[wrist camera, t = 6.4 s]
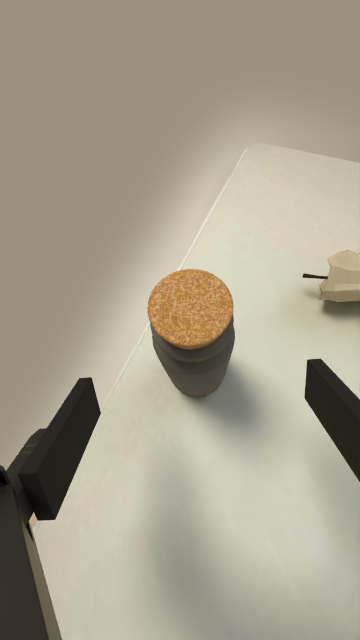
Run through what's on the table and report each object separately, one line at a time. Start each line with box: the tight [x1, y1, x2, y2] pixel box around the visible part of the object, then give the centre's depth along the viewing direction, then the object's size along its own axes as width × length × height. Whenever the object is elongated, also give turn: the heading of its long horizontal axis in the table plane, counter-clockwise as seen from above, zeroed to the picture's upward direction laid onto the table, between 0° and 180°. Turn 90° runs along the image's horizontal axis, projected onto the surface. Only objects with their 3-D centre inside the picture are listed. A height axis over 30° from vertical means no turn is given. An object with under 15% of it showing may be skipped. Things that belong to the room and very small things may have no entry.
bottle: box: [148, 269, 235, 397], centre depth 22 cm, size 6×6×15 cm
